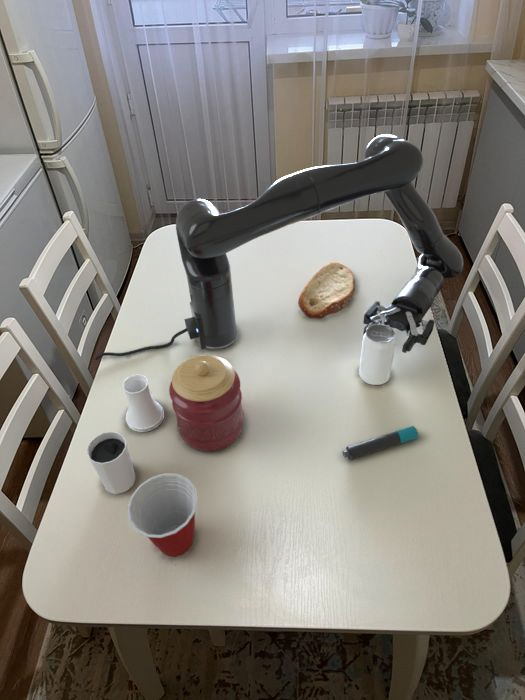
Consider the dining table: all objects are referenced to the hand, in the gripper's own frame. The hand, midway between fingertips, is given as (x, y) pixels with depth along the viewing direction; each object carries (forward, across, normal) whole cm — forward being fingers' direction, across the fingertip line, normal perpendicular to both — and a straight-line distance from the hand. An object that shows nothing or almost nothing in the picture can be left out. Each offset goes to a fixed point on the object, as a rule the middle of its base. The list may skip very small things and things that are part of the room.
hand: (384, 342), depth 113 cm
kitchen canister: (+33, -21, +7) cm, 40 cm away
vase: (+38, -34, +7) cm, 51 cm away
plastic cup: (+55, -12, +7) cm, 57 cm away
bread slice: (-16, -22, +7) cm, 28 cm away
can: (+4, 0, +7) cm, 8 cm away
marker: (+20, +8, +6) cm, 22 cm away
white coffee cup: (+51, -28, +7) cm, 59 cm away
